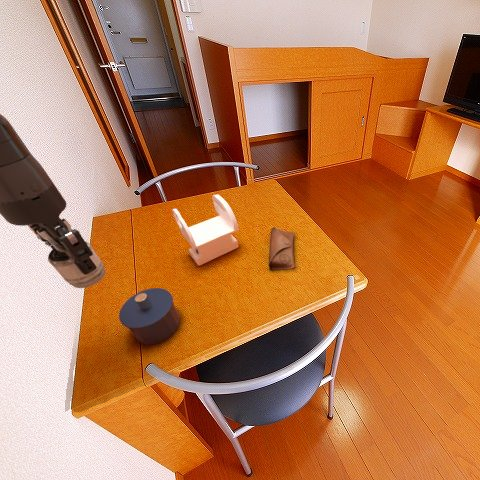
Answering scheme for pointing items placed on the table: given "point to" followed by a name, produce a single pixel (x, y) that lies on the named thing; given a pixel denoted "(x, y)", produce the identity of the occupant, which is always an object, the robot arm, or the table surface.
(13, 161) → the robot arm
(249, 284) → the table surface
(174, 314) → the pot
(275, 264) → the sunglasses case
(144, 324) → the pot lid
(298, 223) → the table surface
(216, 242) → the tape dispenser
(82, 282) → the camera lens
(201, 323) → the table surface
